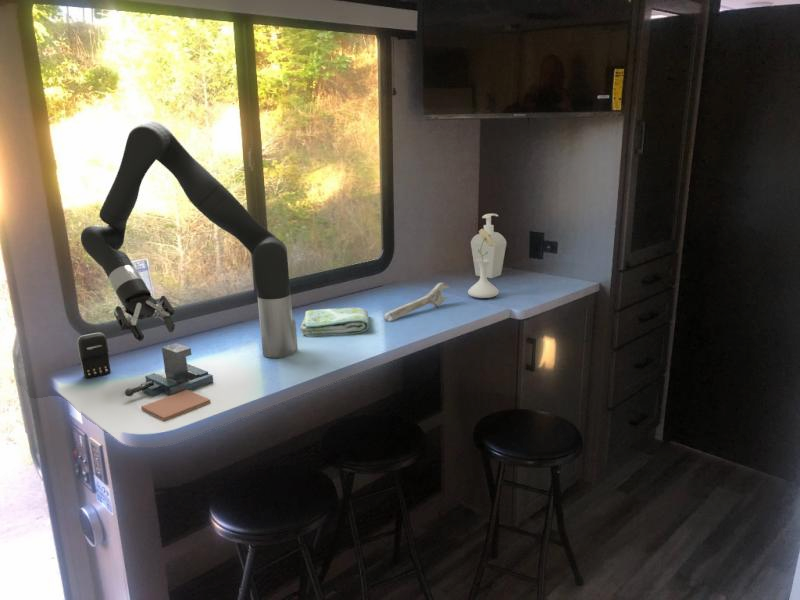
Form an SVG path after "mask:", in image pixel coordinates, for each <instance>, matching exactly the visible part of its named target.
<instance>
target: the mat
mask: <svg viewBox="0 0 800 600" xmlns="http://www.w3.org/2000/svg"><path fill="white" fill-rule="evenodd" d="M210 403H211V399H210V398H208V397H205V396H202V395H200V394H198V393H196V392H195V391H189V390H184V391H182V392H179V393H176V394H174V395H171V396H170V395H167V396H166V397H163V398H160V399H157V400H155V401H153V402H150V403H147V404H144V405H141V407H140V408H141V410H142V411H143V412H146V413H147V414H150V415H151V416H153V417H156V418H158V419H160V420H162V421H164V422H166V421H168V420H171V419H173V418H175V417H179V416H180V415H183V414H185V413H189V412H191V411H193V410H196V409H198V408H201V407H203V406H206V405H208V404H210Z"/></svg>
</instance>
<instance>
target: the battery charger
mask: <svg viewBox="0 0 800 600" xmlns="http://www.w3.org/2000/svg"><path fill="white" fill-rule="evenodd" d="M76 343H77V349H78V354H79V356H78V357H79V359H80V363H81V369H82V374H83V375H82V376H83V377H85V378H86V379H91V378H96V377H102V376H105V375H109V374H110V373H111V372H112V371H111V365H110V359H109V346H108V342H107V338H106V336H105V334H104V333H103V332H94V333H89V334H84V335H81V336H79V337H78V339H77V342H76Z"/></svg>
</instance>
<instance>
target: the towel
mask: <svg viewBox="0 0 800 600" xmlns="http://www.w3.org/2000/svg"><path fill="white" fill-rule="evenodd" d="M369 323H370V322H369V313H368V311H367V310H366V309H365V308H362V307H342V308H323V309H322V308H321V309H310V310H306V311H305V316H304V317H303V320H302V322H301V325H300V331H302V332H301V333H302V335H305V337H327V336H345V335H358V334H362V333H364V332H366V331H367V330H368V328H369V325H370V324H369Z"/></svg>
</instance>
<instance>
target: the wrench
mask: <svg viewBox="0 0 800 600" xmlns="http://www.w3.org/2000/svg"><path fill="white" fill-rule="evenodd" d="M444 289H449V290H450V286H449V285H448V284H447V283H445V282H438V283H437V284H436V285H435V286H434V287H433V288H432V289H431V290H430V291H429V292H428V293H427V294H426V295H424V296H422V297H419V298H417V299H414V300H413V301H411V302H408V303H406V304H403V305H401V306H399V307H396V308H394V309H391V310H389V311H387V312H385V313H384V315H383V319H384V321H386V322H392V321H395V320H397V319H399V318H402V317H403V316H405V315H408V314H410V313H412V312H414V311H416V310H418V309H421V308H423V307H425V306H427V305H433V308H439V307H440V305H441V304H443V303H444V302H445V301H446V300H447V298H448V297H447V296H443V295H442V293H443V291H444ZM388 316H389V318H388Z"/></svg>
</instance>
